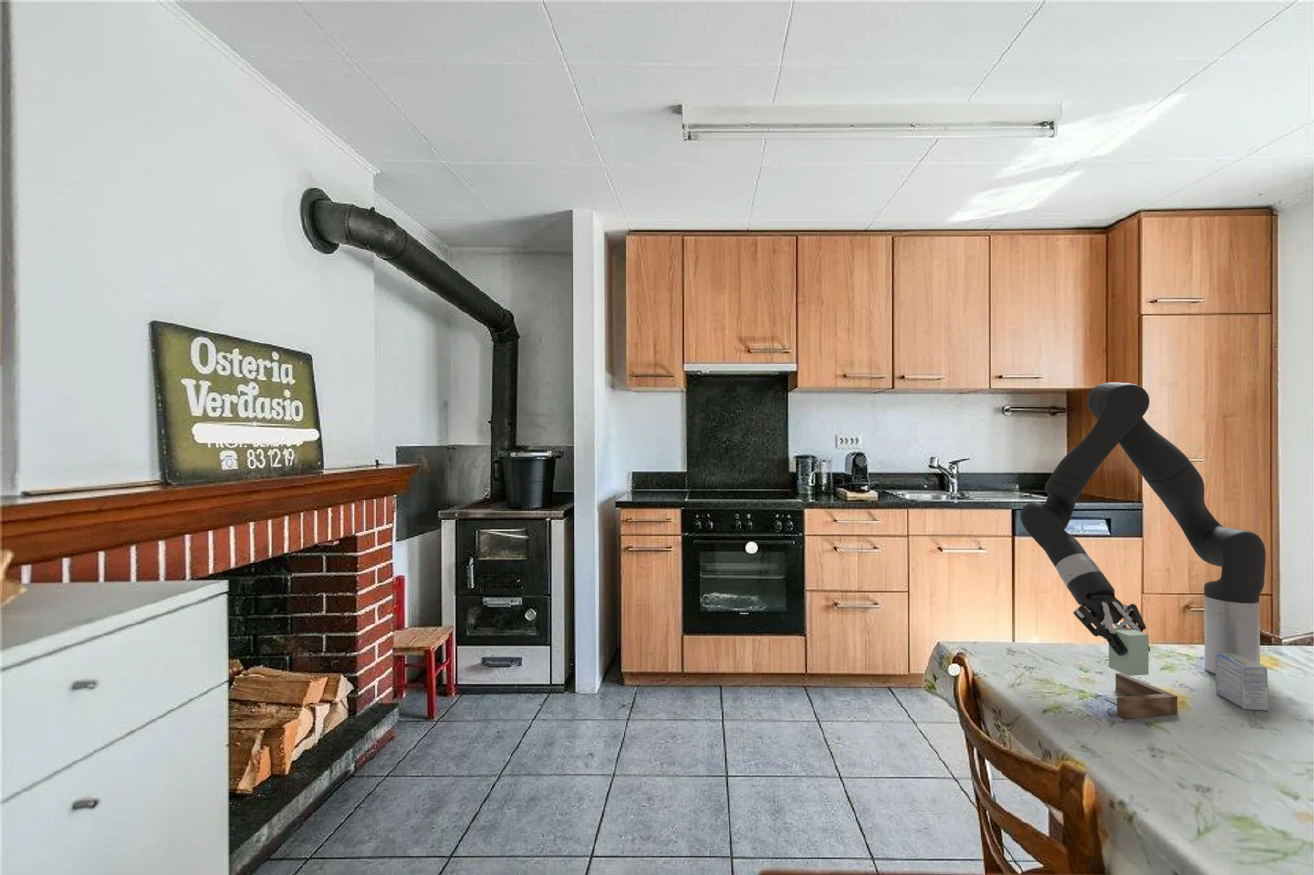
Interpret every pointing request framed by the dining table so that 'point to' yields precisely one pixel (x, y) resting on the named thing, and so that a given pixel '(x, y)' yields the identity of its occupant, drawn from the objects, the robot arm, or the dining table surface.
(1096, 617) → the robot arm
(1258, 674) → the medicine box
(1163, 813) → the dining table surface
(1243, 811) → the dining table surface
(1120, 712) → the walnut corner
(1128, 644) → the sage block
